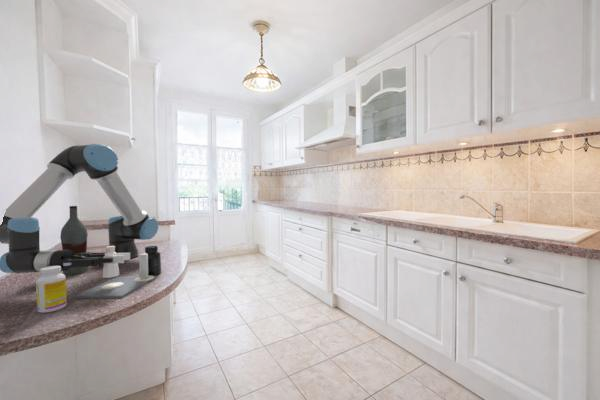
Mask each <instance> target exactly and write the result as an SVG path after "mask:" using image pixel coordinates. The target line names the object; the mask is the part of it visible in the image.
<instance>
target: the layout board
mask: <svg viewBox="0 0 600 400" xmlns="http://www.w3.org/2000/svg"><path fill="white" fill-rule="evenodd" d="M138 254H139V253H138ZM138 261H139V262H138V263H139V264H138V265H139V266H138V267H139V276H138V275H137V276H135V275H134V276H133V275H132V276H130V275H129V276H128V275H127V276H124V275H123V276H120V275H118V276H116V277H112V279H109V280H107V281H105V282H103V283H100V284H98V285H96V286H94V287H91V288H90V289H87V290H85V291H82V292H81V293H78V294H77V295H75V299H123V298H124V297H126V296H128V295H129V294H131V293H133V292H135V291H136V290H138V289H140V288H141V287H143V286H144V285H147V284H148V283H151V281H153V280H155V279H156V278H157V277H156V275H152V276H151V275H148V254H147V253H146V252H143V253H140V254H139V255H138Z"/></svg>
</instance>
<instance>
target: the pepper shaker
mask: <svg viewBox="0 0 600 400" xmlns="http://www.w3.org/2000/svg"><path fill="white" fill-rule="evenodd" d="M105 248H106V249H105V252H107V253H105V256H117V253H116V252H115V246H109V245H107V246H106V247H105ZM118 276H120V268H119V263H116V264H103V270H102V278H103V279H109V278H116V277H118Z"/></svg>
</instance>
